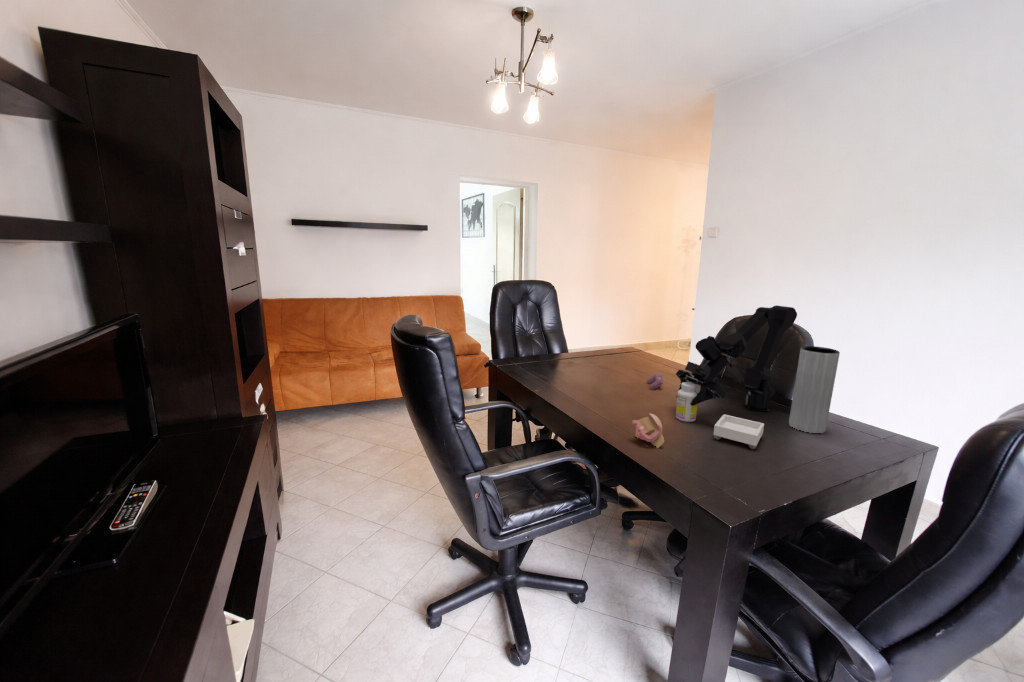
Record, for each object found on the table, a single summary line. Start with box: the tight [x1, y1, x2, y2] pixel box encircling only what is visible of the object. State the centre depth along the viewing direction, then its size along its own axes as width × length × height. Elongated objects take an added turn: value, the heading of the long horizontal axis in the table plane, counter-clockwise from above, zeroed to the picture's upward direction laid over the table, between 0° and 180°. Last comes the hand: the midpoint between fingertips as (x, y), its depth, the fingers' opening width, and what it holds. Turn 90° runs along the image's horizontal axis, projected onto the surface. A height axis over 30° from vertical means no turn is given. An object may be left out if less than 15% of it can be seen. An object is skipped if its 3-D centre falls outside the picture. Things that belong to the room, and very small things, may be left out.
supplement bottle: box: [675, 382, 699, 423], centre depth 139 cm, size 7×7×13 cm
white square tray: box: [713, 413, 765, 450], centre depth 124 cm, size 12×12×5 cm
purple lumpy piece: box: [646, 372, 664, 390], centre depth 174 cm, size 10×5×7 cm, turn 169°
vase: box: [788, 345, 841, 434], centre depth 130 cm, size 10×10×27 cm
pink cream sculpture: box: [631, 413, 665, 449], centre depth 122 cm, size 9×10×10 cm
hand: (684, 401), depth 138 cm, fingers closed on supplement bottle, 7 cm apart
